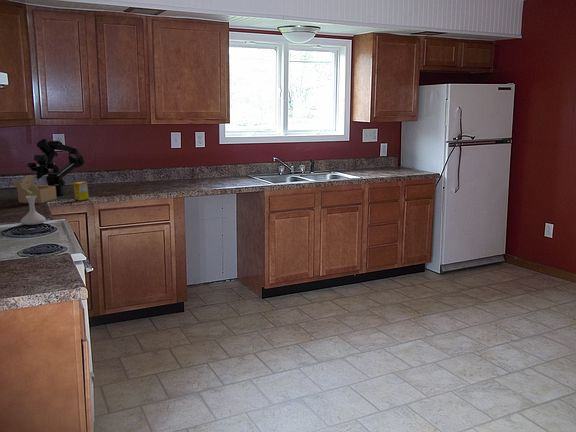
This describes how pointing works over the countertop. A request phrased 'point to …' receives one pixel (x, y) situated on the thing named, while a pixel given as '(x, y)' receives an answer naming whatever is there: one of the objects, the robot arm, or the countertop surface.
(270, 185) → the countertop surface
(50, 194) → the carton
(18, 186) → the carton flap
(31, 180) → the flower in vase
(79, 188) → the supplement box
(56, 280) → the countertop surface
